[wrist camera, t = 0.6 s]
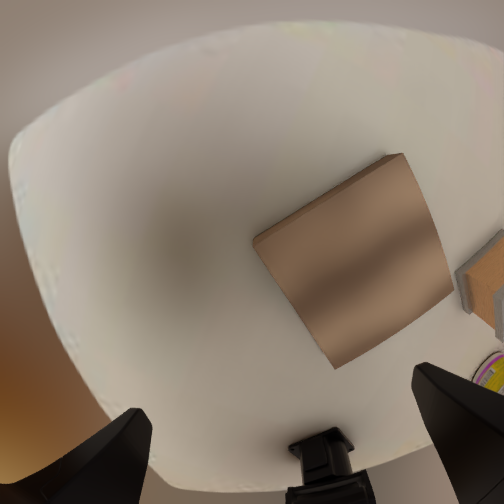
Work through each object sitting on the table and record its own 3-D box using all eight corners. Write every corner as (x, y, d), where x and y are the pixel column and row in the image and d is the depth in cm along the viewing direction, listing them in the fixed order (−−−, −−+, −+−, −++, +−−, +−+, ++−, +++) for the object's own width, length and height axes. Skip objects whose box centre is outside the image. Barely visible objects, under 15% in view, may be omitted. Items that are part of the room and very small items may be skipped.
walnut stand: (439, 279, 20) (454, 290, 18) (329, 352, 22) (335, 369, 20) (387, 155, 18) (402, 152, 15) (253, 238, 20) (252, 246, 17)
